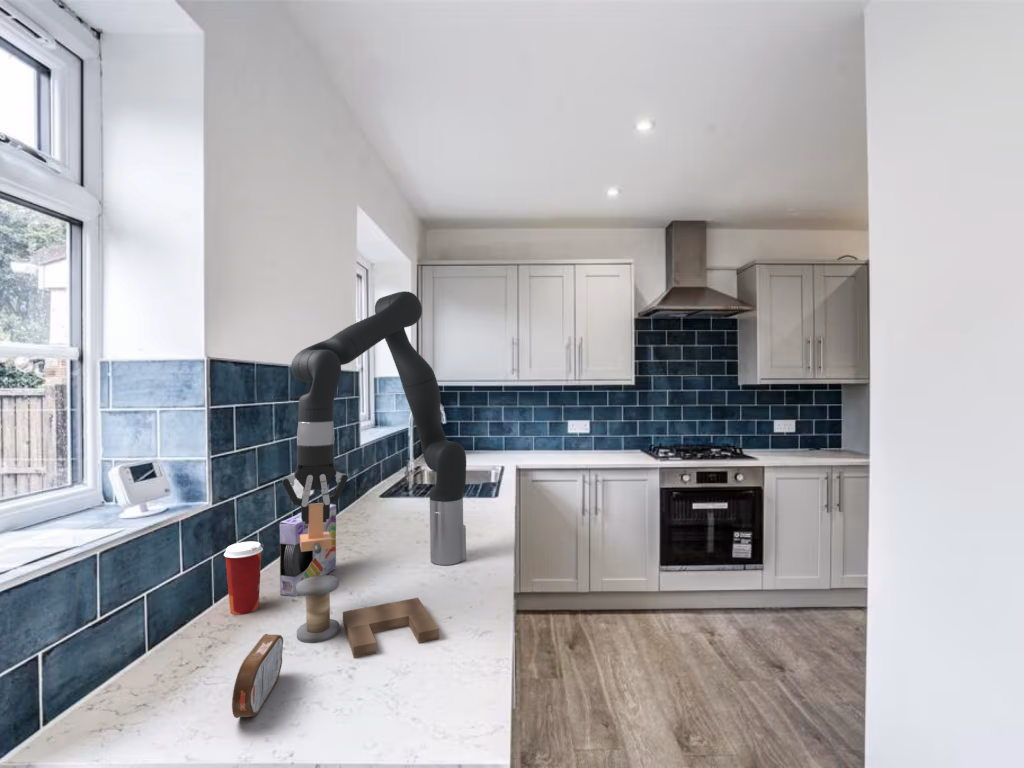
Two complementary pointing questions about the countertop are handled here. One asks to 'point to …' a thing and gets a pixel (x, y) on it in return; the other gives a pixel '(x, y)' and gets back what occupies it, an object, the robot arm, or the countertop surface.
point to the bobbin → (317, 609)
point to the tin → (257, 676)
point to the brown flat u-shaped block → (387, 624)
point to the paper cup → (243, 576)
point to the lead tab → (315, 531)
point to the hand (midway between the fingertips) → (315, 522)
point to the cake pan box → (303, 553)
